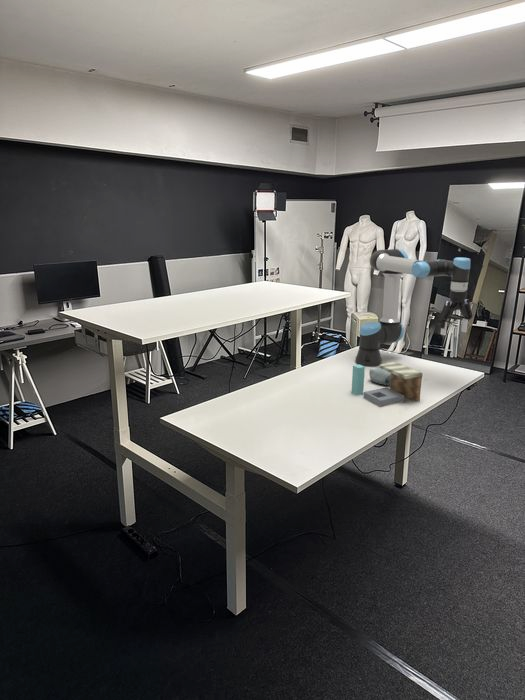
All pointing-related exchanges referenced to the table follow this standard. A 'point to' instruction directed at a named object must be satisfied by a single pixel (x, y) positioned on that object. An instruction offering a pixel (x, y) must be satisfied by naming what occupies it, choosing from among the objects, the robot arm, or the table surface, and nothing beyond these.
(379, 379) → the grey yarn spool
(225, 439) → the table surface
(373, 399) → the socket
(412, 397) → the wood grain block
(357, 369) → the peg
